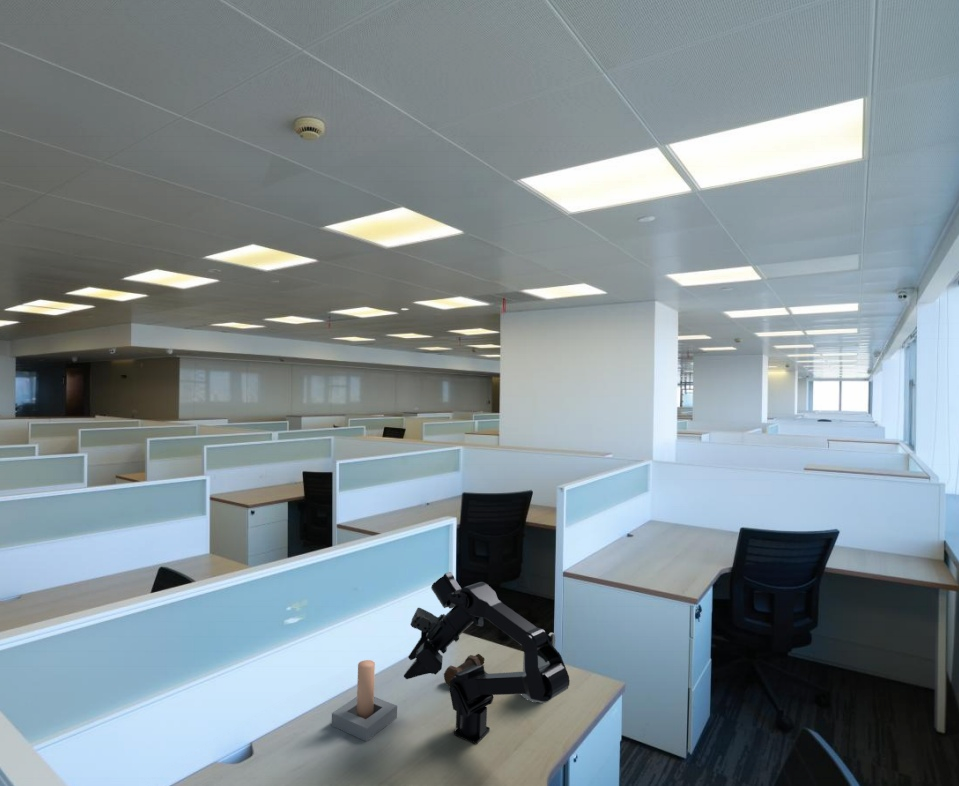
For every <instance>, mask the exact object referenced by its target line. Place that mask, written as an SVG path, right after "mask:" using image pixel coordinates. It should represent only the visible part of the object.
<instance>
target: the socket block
mask: <svg viewBox="0 0 959 786" xmlns="http://www.w3.org/2000/svg"><path fill="white" fill-rule="evenodd" d="M396 719H398V705H396V704H394V703H391V702H390V701H387V700H384V699H381V698H379V697H376V696H374V710H373V715H371V716H370V717H369V718H367V719H364V718H361V717H359V716H357V696H356V697H354V698H352V699H351V700H349V701H347V703H345V704H344V705H342V706H340V707H339V708H337V709H335V710H334V711H333V712H331V725H333V726H332V727H334V728H336V727H337V728H336V729H338V728H339V729H338V730H340V729H341V731H342V730H343V731H342V732H344V733H347V734H350V735H351V736H354V737H356V738H358V739H360V740H363V741H365V742H368V741H369V740H370V739H371V738H373V737H374V736H375V735H377V734H378V733H379V732H380V731H382V730H383V729H384V728H386V727H387V726H388V725H390V724H391V723H392V722H394V721H395V720H396Z"/></svg>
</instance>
